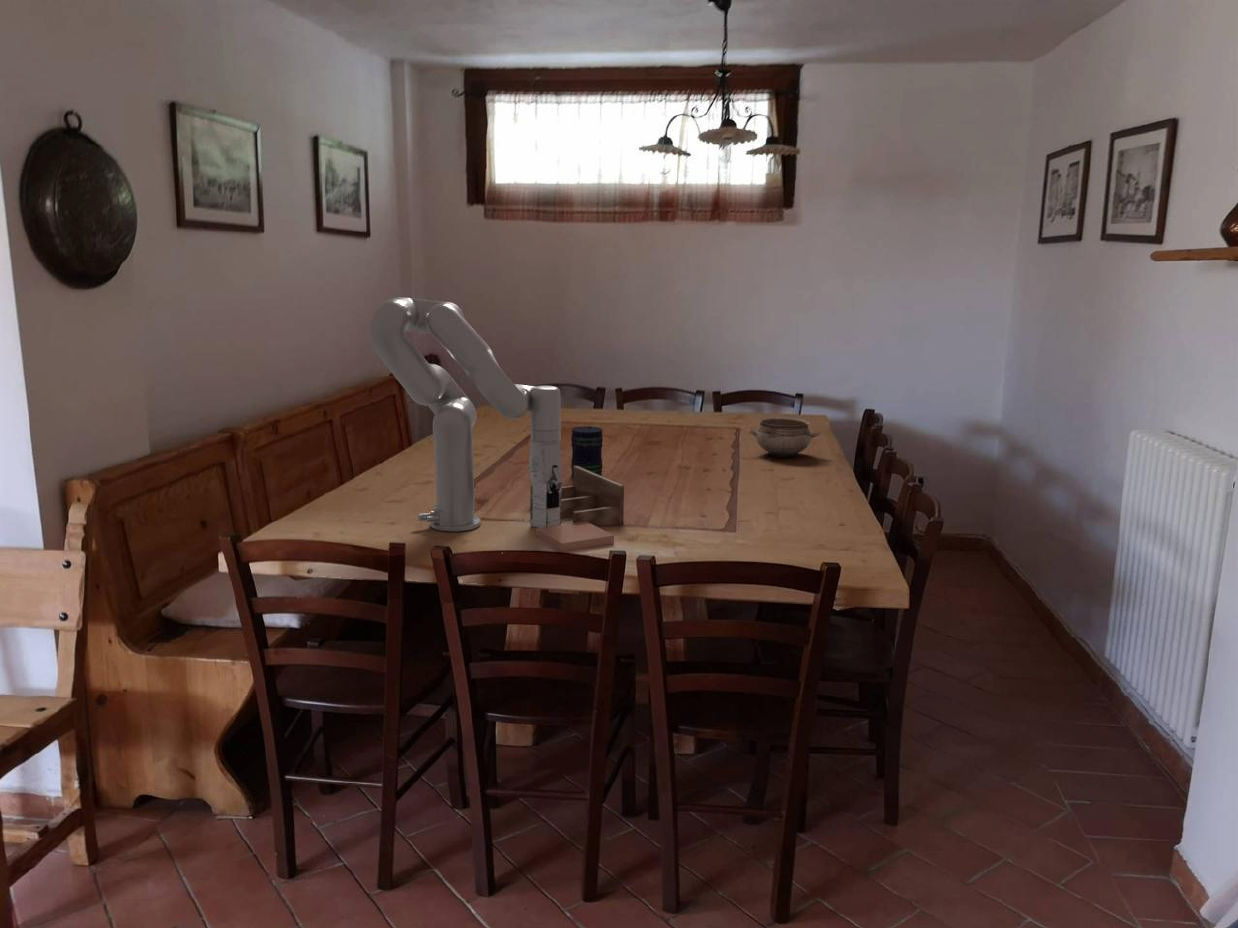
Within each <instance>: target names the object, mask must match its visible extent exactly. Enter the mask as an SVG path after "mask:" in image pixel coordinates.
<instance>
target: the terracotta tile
mask: <svg viewBox="0 0 1238 928" xmlns="http://www.w3.org/2000/svg"><path fill="white" fill-rule="evenodd" d="M535 528H536V529H535V536H536V537H537V538H538V539H541V540H542V541H544V543H547V544H548V545H550V546H552V547H554V548H555V549H557V550H559V551H560V552H568V551H569V552H570V551H575V550H582V549H586V548H587V549H588V548H592V547H600V546H607V545H613V544H615V535H614V534H612V533H610V532H608V531H607V530H604V529H602V528H600V526H599V527H597V526H595V525H593V524H591V523H589V522H587V521H584V522H577V523H573V522H572V523H567V524H566V523H565V524H564V523H563V524H561V525H556V526H549V527H542V528H537V527H535Z"/></svg>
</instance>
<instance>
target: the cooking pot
mask: <svg viewBox="0 0 1238 928" xmlns="http://www.w3.org/2000/svg"><path fill="white" fill-rule="evenodd" d="M758 422H759V425H758V427H757V429H756V431H754V430H751V429H747V432H748V434H750V435H752V436H753V437H755V439H756V443H757V444H758V445H759V447H760V448H761V449H762V450H764V451H766V452H767V453H768V454H770V455H772V456H773V457H775V458H780V459H781V458H783V459H784V458H792V457H793V456H795V455H797V454H799V453H801V452H803V451H804V450H805V449H806V448H807V447H808V446H809V445H810V443H811V440H812V439H813V438H816V437H818V436H820V434H821V433H820V432H819V431H815V432H811V430H810V428H809V424H810V421H808V420H807V419H802V418H797V417H796V418H795V417H785V416H784V417H783V416H779V417H776V416H773V417H763V418H760V419H758Z"/></svg>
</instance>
